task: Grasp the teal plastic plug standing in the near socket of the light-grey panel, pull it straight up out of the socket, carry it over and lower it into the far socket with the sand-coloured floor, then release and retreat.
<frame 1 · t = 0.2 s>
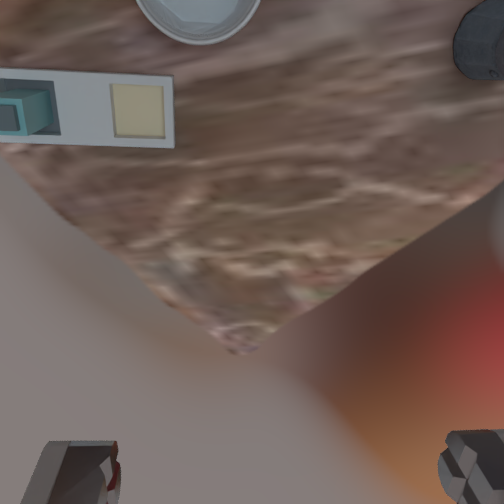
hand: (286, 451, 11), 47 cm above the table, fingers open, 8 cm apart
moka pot: (487, 36, 51), on the table
socket panel: (89, 107, 51), on the table
teal plug: (35, 105, 50), resting on socket panel
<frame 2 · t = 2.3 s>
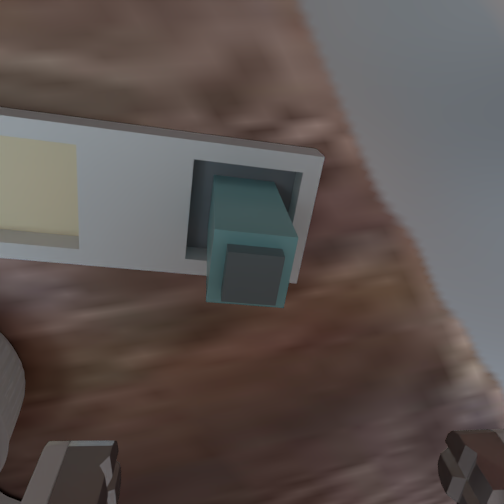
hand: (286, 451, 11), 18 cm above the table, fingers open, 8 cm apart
socket panel: (139, 194, 25), on the table
teal plug: (240, 207, 26), resting on socket panel
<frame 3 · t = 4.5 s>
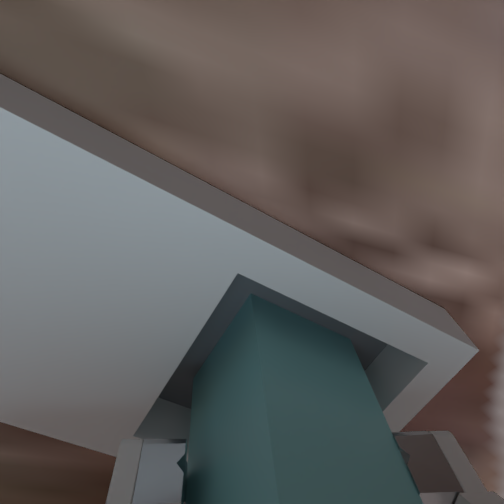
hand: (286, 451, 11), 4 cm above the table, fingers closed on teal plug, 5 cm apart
socket panel: (88, 276, 12), on the table
teal plug: (271, 359, 13), resting on socket panel, touching gripper
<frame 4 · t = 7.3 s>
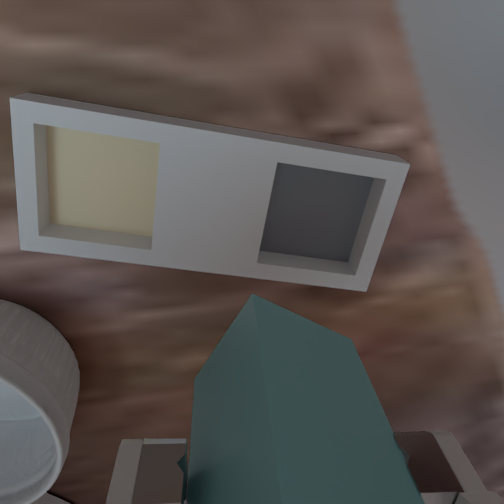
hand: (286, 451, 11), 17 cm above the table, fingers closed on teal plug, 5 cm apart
socket panel: (212, 195, 25), on the table
teal plug: (272, 359, 13), point 13 cm above the table, touching gripper
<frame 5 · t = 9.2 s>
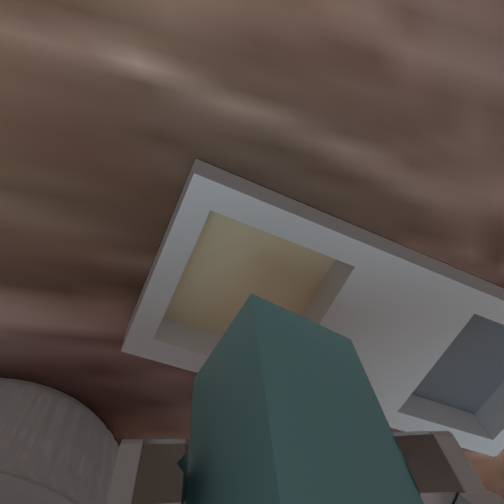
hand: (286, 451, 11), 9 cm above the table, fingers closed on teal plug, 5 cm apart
socket panel: (363, 319, 20), on the table
teal plug: (271, 359, 13), point 6 cm above the table, touching gripper
ramekin: (13, 449, 22), on the table
when the fingers open (4 cm above the table, at t = 10.5 s): teal plug stays where it is, resting on socket panel.
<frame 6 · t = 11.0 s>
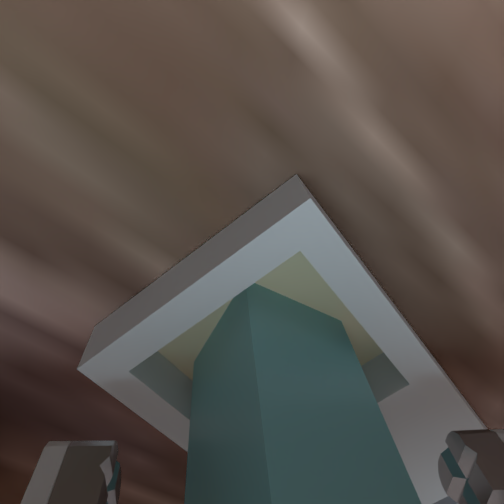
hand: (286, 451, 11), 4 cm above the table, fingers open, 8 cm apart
socket panel: (358, 428, 17), on the table
teal plug: (266, 341, 14), resting on socket panel
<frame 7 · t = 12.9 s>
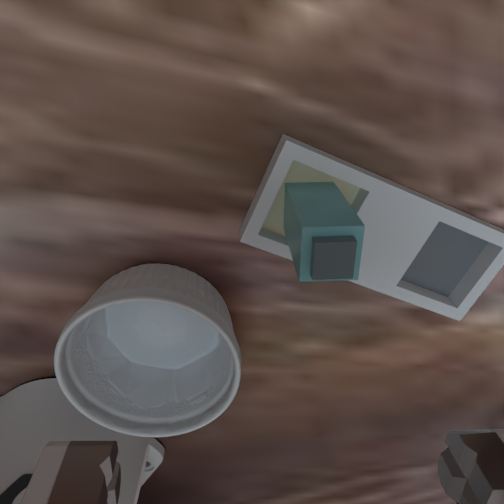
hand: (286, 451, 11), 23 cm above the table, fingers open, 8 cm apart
socket panel: (375, 230, 34), on the table
teal plug: (307, 205, 32), resting on socket panel
ramekin: (162, 315, 37), on the table
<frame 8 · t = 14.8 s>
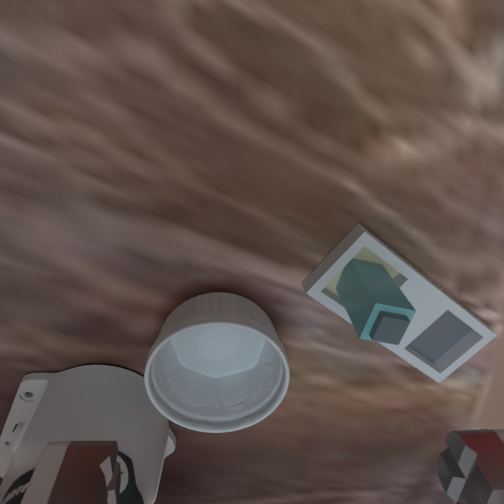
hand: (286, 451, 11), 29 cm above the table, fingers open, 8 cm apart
socket panel: (398, 304, 45), on the table
teal plug: (358, 276, 42), resting on socket panel
ramekin: (217, 333, 45), on the table
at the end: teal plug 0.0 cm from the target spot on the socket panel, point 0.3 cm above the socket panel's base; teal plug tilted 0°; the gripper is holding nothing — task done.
